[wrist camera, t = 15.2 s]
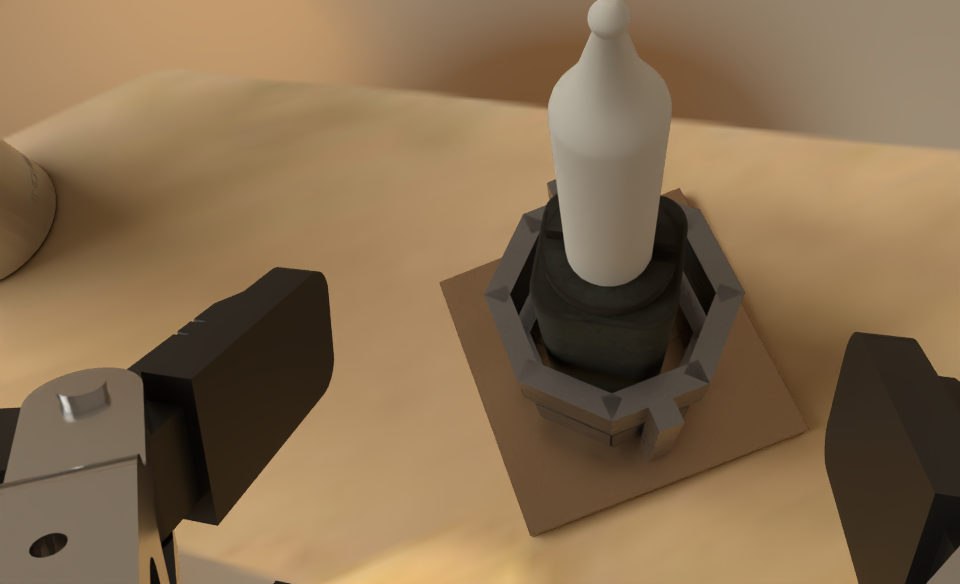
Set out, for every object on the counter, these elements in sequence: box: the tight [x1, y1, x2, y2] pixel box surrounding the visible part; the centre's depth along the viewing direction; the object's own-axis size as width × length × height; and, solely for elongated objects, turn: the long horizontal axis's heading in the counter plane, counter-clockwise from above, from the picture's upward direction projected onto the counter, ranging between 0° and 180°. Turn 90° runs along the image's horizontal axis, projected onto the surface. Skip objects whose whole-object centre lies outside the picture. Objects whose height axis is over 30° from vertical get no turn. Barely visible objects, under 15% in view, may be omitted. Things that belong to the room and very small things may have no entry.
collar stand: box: [439, 180, 809, 537], centre depth 34 cm, size 14×14×9 cm
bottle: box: [530, 0, 688, 393], centre depth 26 cm, size 5×5×25 cm
